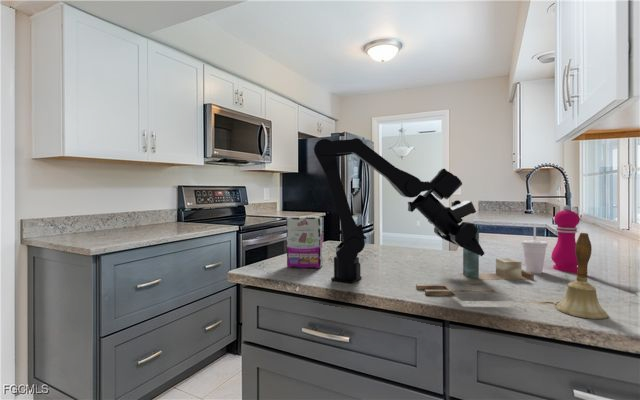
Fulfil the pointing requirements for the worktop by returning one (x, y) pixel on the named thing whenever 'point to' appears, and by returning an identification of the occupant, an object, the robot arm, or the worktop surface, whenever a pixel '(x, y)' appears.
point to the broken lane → (445, 289)
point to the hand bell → (582, 287)
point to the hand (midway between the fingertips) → (475, 251)
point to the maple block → (508, 268)
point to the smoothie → (534, 254)
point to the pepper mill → (565, 241)
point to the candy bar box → (304, 242)
